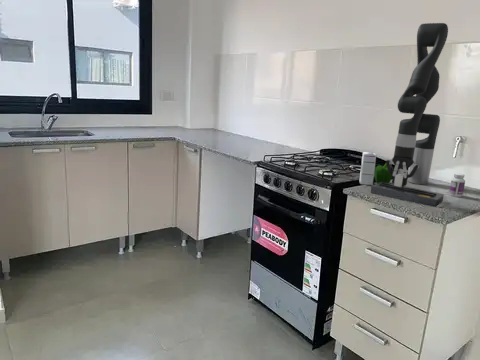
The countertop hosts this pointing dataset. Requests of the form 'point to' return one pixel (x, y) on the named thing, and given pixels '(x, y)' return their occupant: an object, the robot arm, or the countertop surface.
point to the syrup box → (367, 168)
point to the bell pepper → (382, 174)
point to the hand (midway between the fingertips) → (398, 185)
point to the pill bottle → (457, 185)
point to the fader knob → (398, 180)
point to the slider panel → (408, 194)
